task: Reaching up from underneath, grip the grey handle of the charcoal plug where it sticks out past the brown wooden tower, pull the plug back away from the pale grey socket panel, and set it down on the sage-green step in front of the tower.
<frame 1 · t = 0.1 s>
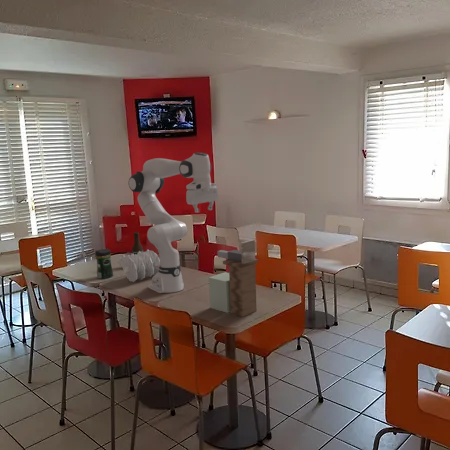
hand: (203, 211, 239), 48 cm above the table, tool pointing down, fingers open, 8 cm apart
plug: (231, 258, 227), point 26 cm above the table, touching brown wooden tower
sage step: (226, 306, 235), on the table
brown wooden tower: (242, 311, 228), on the table
coffee jar: (105, 277, 299), on the table
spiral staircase: (142, 279, 293), on the table
beer bottle: (138, 266, 324), on the table
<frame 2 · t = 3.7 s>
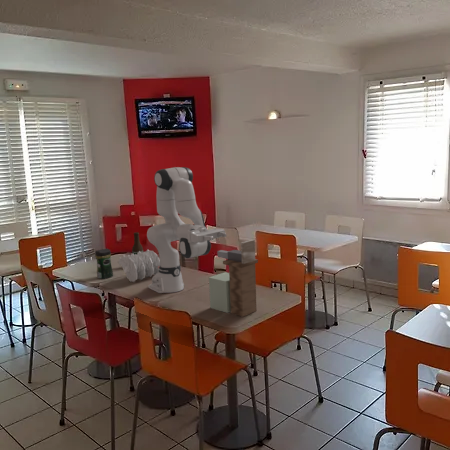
hand: (219, 237, 231), 36 cm above the table, tool horizontal, fingers open, 8 cm apart
nothing on the table moved.
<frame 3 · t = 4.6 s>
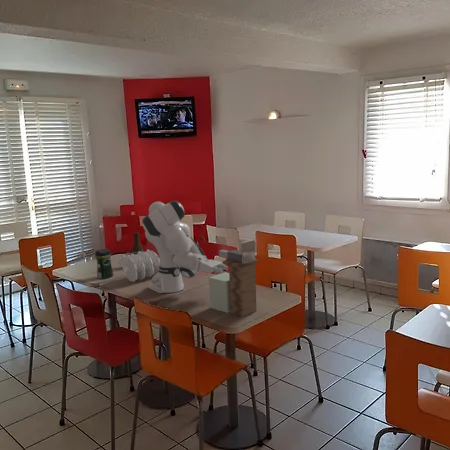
hand: (225, 269, 244), 16 cm above the table, tool horizontal, fingers open, 8 cm apart
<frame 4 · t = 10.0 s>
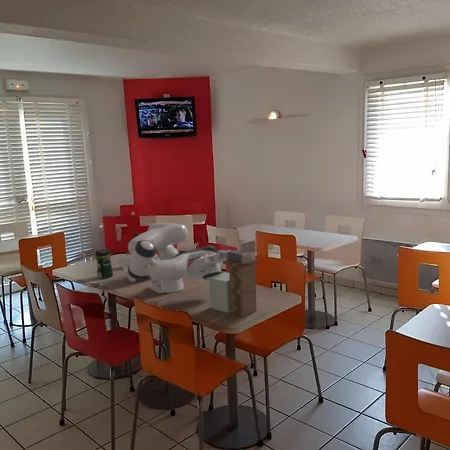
hand: (223, 253, 231), 28 cm above the table, tool pointing upward, fingers closed on plug, 3 cm apart
plug: (231, 258, 227), point 26 cm above the table, touching gripper, brown wooden tower
everything else where it was.
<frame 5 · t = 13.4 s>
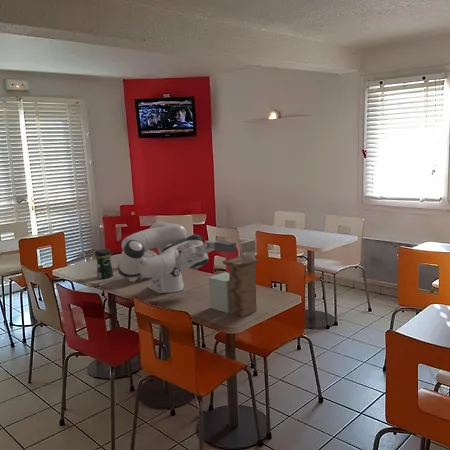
hand: (210, 243, 237), 32 cm above the table, tool pointing upward, fingers closed on plug, 3 cm apart
plug: (218, 248, 233), point 30 cm above the table, touching gripper
everything else where it was.
when the fingers open (20 cm above the table, at t = 16.9 s): plug drops 4 cm, resting on sage step.
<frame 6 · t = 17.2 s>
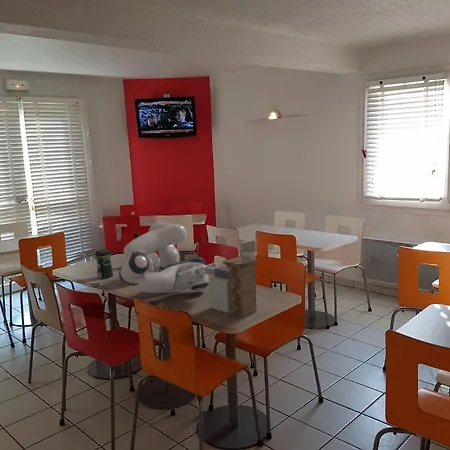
hand: (210, 265, 239), 20 cm above the table, tool pointing upward, fingers open, 6 cm apart
plug: (218, 274, 236), point 16 cm above the table, touching sage step
everything else where it was.
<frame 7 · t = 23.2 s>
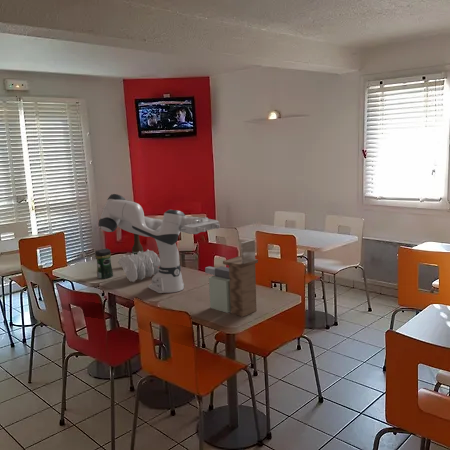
hand: (212, 228, 233), 40 cm above the table, tool horizontal, fingers open, 8 cm apart
nothing on the table moved.
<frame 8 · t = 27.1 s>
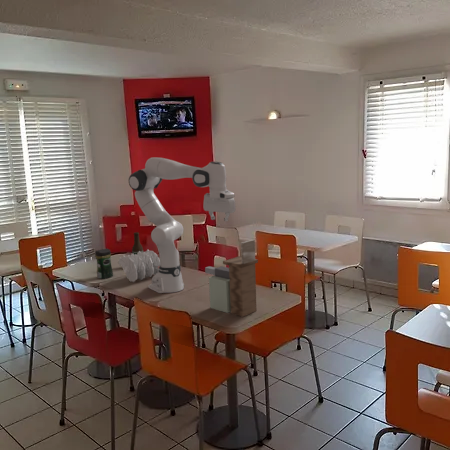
hand: (219, 220, 238), 43 cm above the table, tool pointing down, fingers open, 8 cm apart
nothing on the table moved.
at the end: plug inside the target area (0.2 cm from its centre), point 16.0 cm above the table; the gripper is holding nothing; plug tilted 0° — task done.
